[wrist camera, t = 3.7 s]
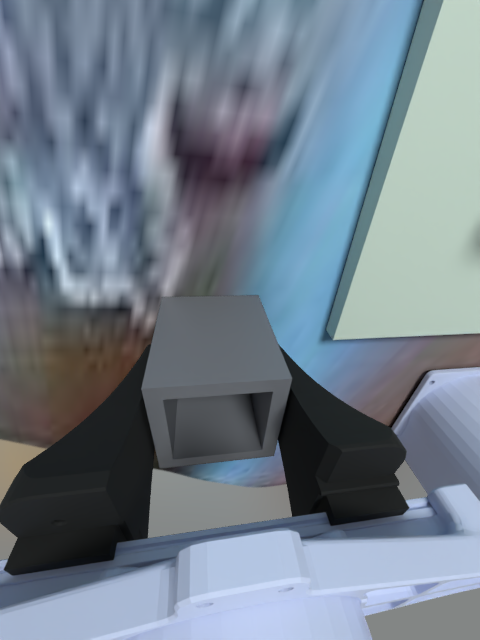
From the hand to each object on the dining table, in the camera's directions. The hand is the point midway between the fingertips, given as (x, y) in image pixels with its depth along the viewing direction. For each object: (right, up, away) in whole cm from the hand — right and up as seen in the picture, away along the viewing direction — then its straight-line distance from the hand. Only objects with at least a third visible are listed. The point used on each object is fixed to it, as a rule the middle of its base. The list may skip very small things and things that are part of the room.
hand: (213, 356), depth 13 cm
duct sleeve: (0, +1, +2) cm, 2 cm away
